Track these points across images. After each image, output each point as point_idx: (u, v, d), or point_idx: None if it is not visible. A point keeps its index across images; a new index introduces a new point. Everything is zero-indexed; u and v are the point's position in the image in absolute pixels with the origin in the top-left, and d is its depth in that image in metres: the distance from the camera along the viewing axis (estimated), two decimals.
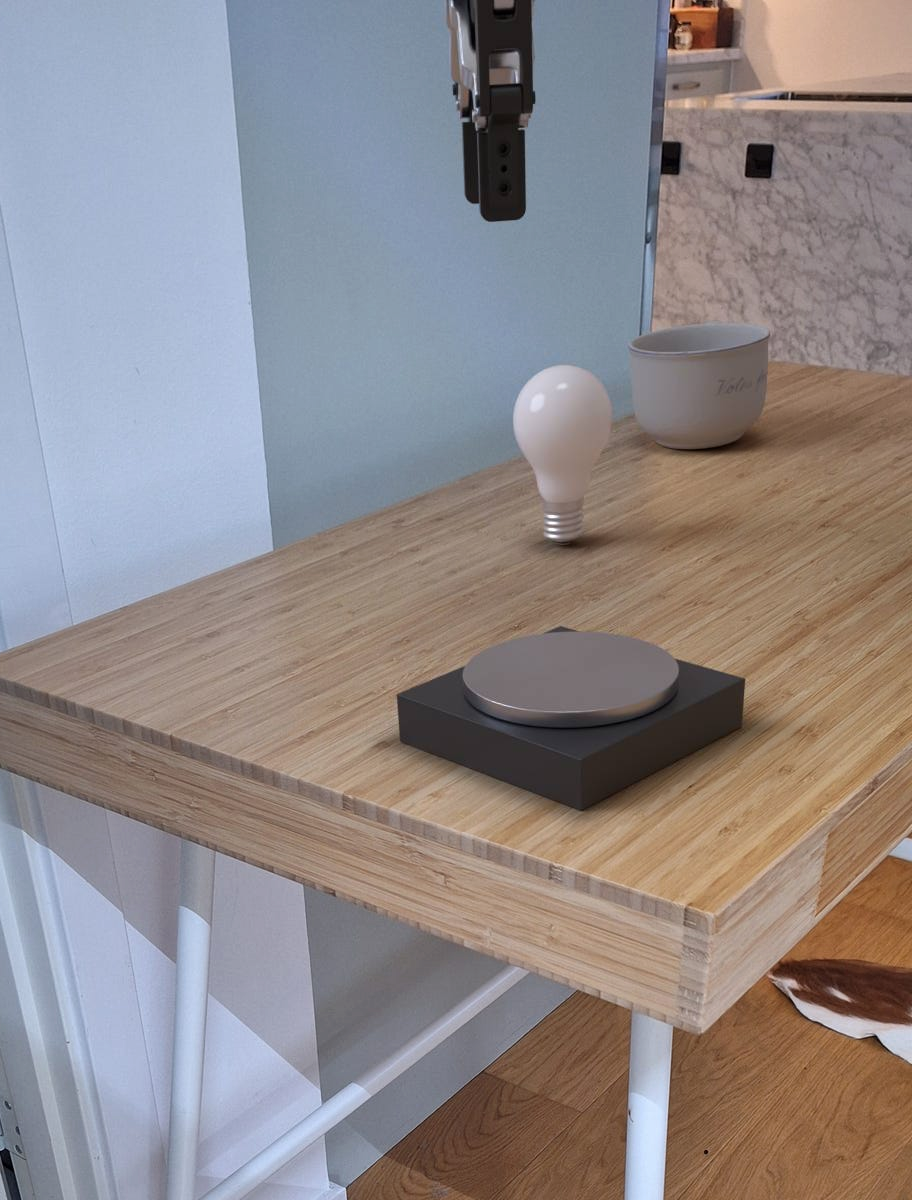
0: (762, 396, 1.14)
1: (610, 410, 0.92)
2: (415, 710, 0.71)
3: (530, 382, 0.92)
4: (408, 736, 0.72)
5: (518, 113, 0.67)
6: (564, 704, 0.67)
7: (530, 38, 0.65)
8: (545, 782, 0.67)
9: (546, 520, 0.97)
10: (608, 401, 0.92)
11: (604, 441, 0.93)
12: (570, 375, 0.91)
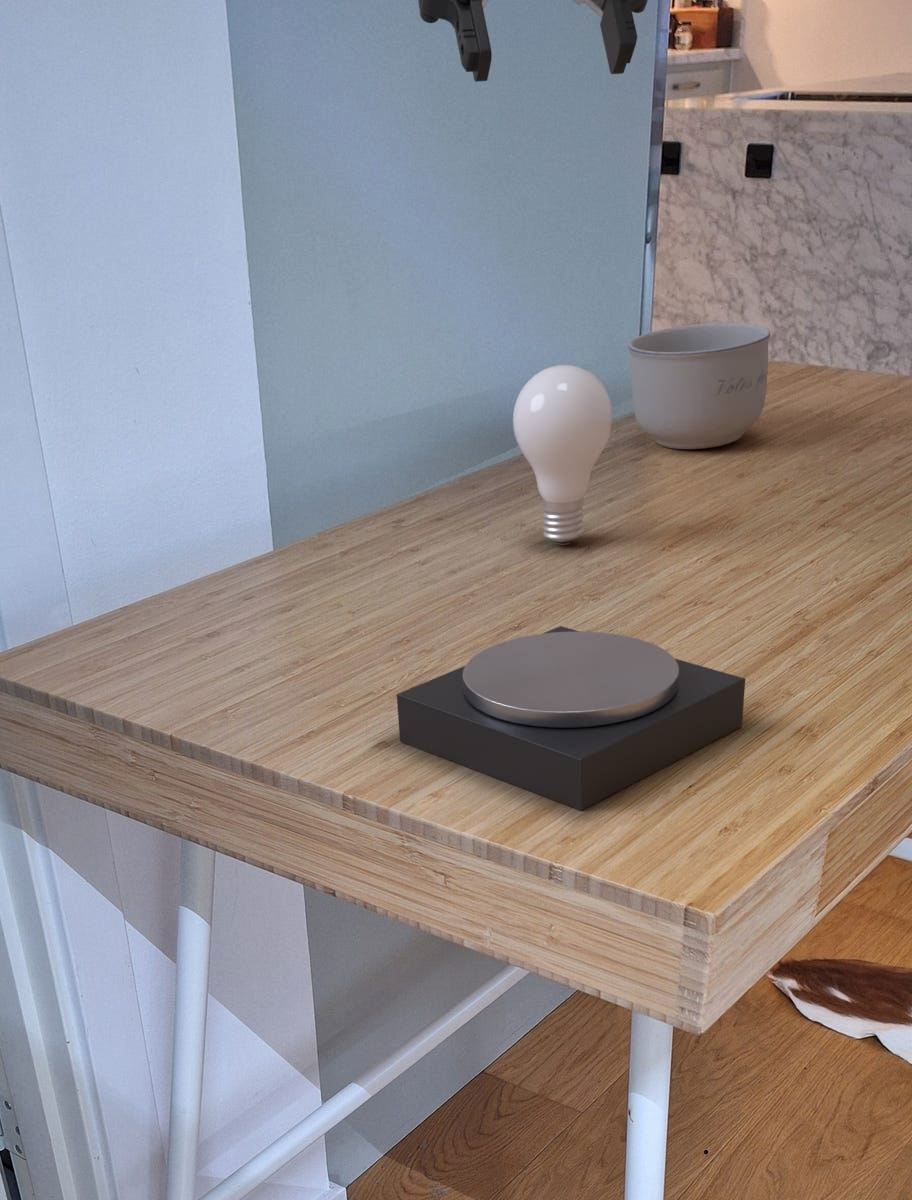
0: (762, 396, 1.14)
1: (610, 410, 0.92)
2: (415, 710, 0.71)
3: (530, 382, 0.92)
4: (408, 736, 0.72)
5: None
6: (564, 704, 0.67)
7: None
8: (545, 782, 0.67)
9: (546, 520, 0.97)
10: (608, 401, 0.92)
11: (604, 441, 0.93)
12: (570, 375, 0.91)
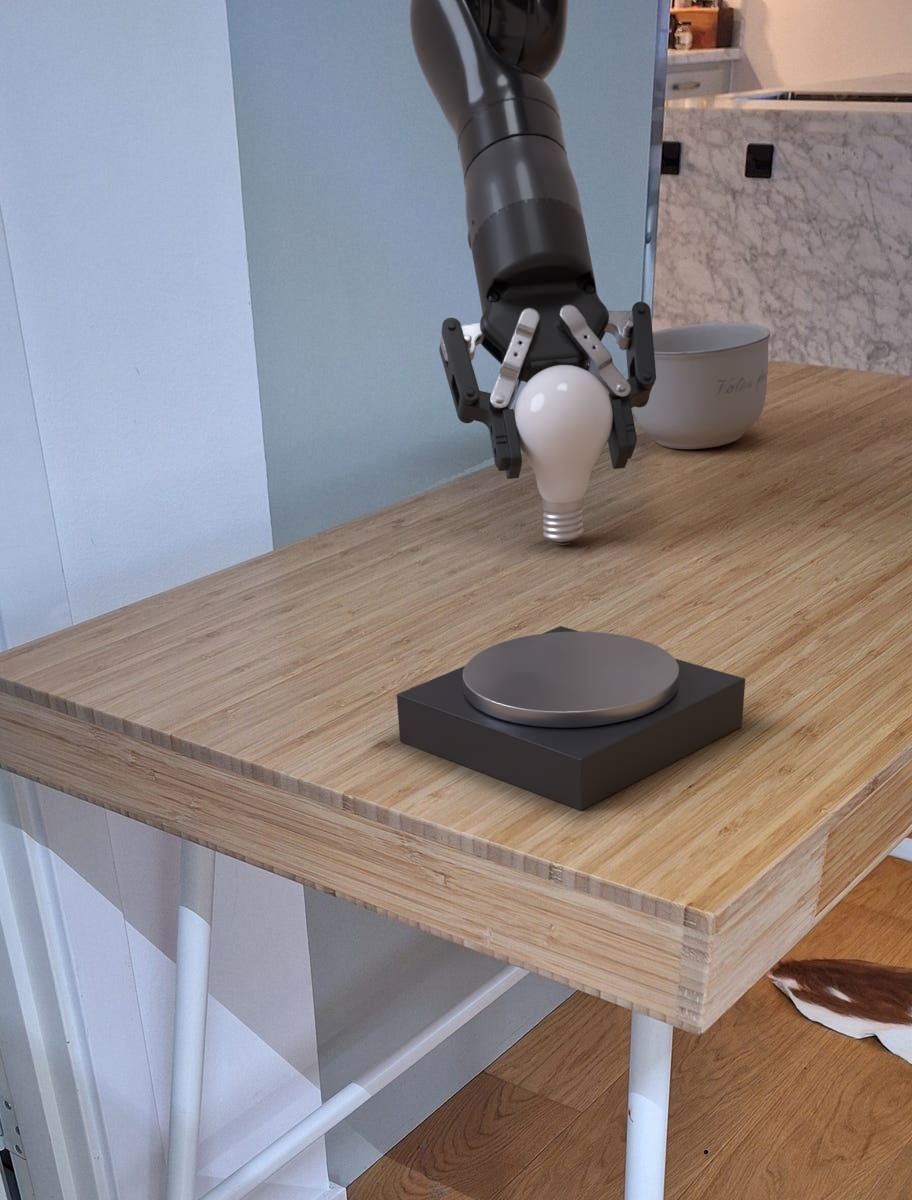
0: (762, 396, 1.14)
1: (610, 410, 0.92)
2: (415, 710, 0.71)
3: (530, 382, 0.92)
4: (408, 736, 0.72)
5: (467, 406, 0.93)
6: (564, 704, 0.67)
7: (452, 363, 0.93)
8: (545, 782, 0.67)
9: (546, 520, 0.97)
10: (608, 401, 0.92)
11: (604, 441, 0.93)
12: (570, 375, 0.91)
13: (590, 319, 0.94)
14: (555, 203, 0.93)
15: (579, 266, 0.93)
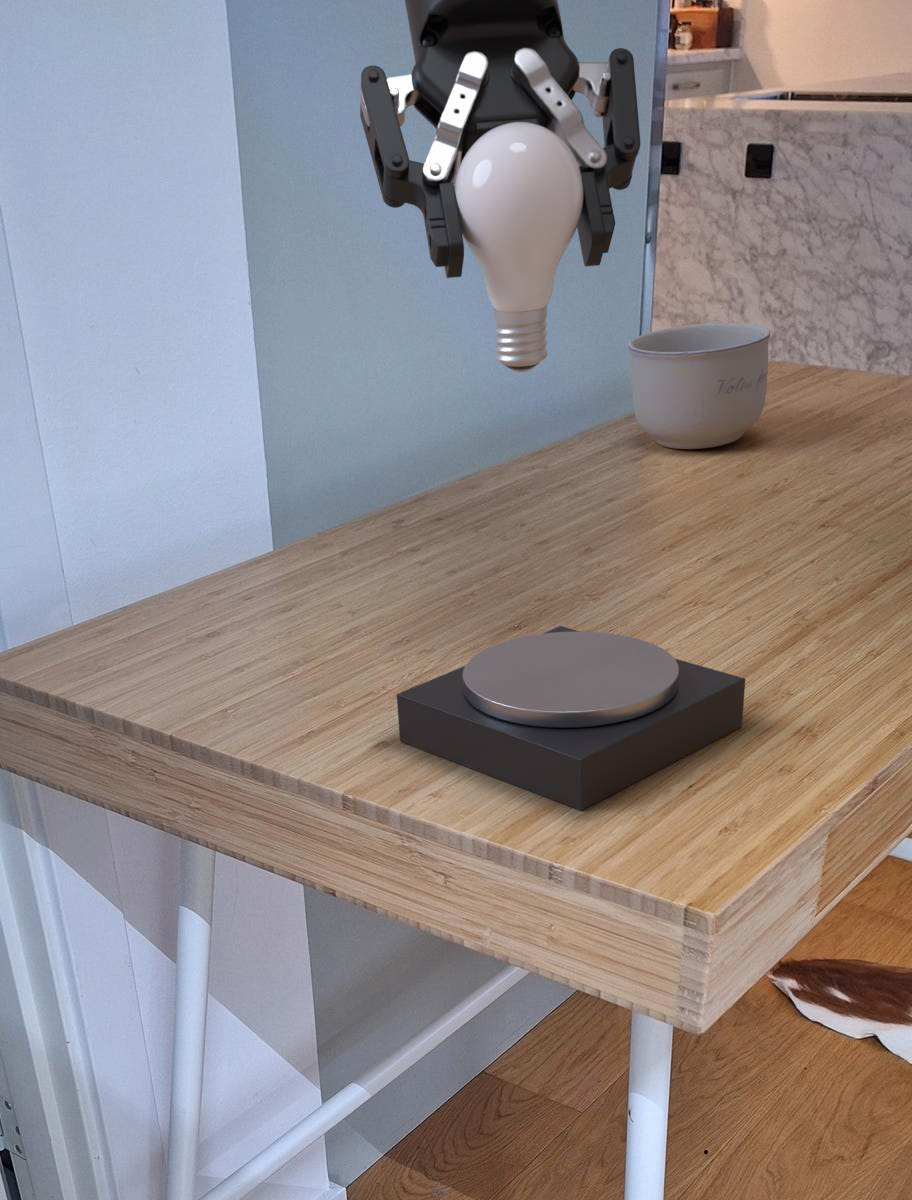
0: (762, 396, 1.14)
1: (579, 182, 0.70)
2: (415, 710, 0.71)
3: (475, 144, 0.70)
4: (408, 736, 0.72)
5: (393, 180, 0.71)
6: (564, 704, 0.67)
7: (373, 124, 0.71)
8: (545, 782, 0.67)
9: (498, 337, 0.75)
10: (577, 169, 0.70)
11: (572, 224, 0.71)
12: (526, 131, 0.69)
13: (555, 70, 0.72)
14: None
15: None
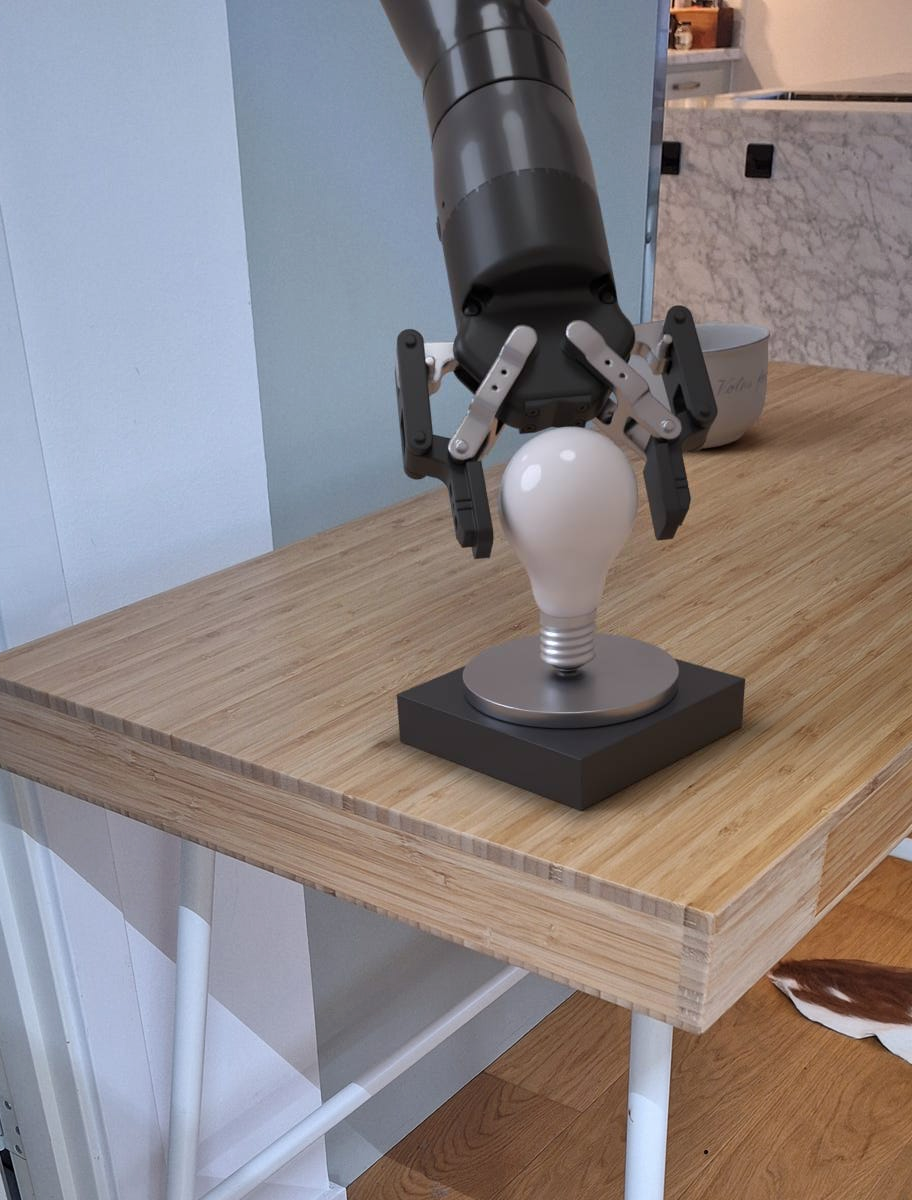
0: (762, 396, 1.14)
1: (635, 491, 0.65)
2: (415, 710, 0.71)
3: (523, 452, 0.65)
4: (408, 736, 0.72)
5: (416, 457, 0.65)
6: (564, 704, 0.67)
7: (402, 393, 0.65)
8: (545, 782, 0.67)
9: (544, 638, 0.70)
10: (633, 478, 0.65)
11: (627, 534, 0.66)
12: (579, 442, 0.64)
13: (611, 341, 0.67)
14: (559, 175, 0.65)
15: (593, 265, 0.65)
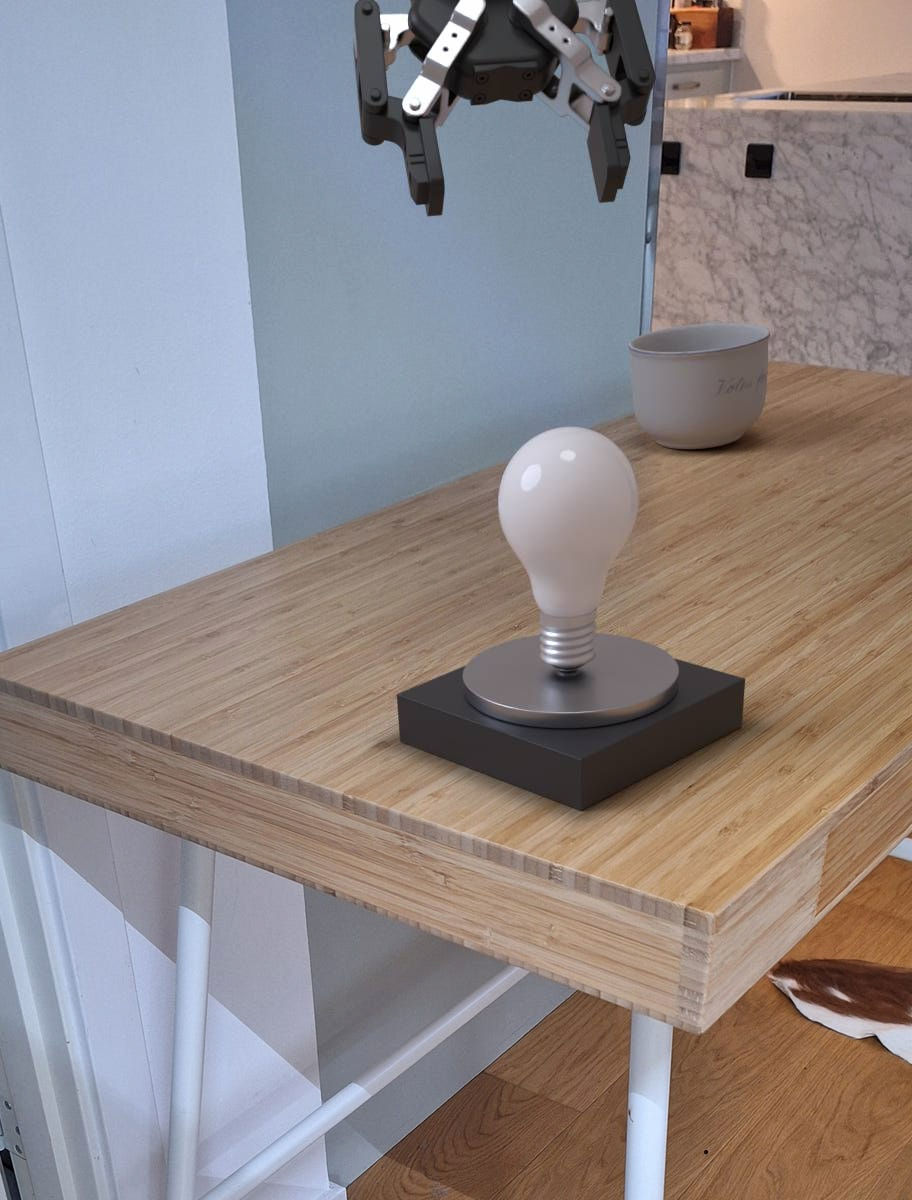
0: (762, 396, 1.14)
1: (635, 491, 0.65)
2: (415, 710, 0.71)
3: (523, 452, 0.65)
4: (408, 736, 0.72)
5: (372, 116, 0.70)
6: (564, 704, 0.67)
7: (358, 56, 0.70)
8: (545, 782, 0.67)
9: (544, 638, 0.70)
10: (633, 478, 0.65)
11: (627, 534, 0.66)
12: (579, 442, 0.64)
13: (556, 13, 0.71)
14: None
15: None
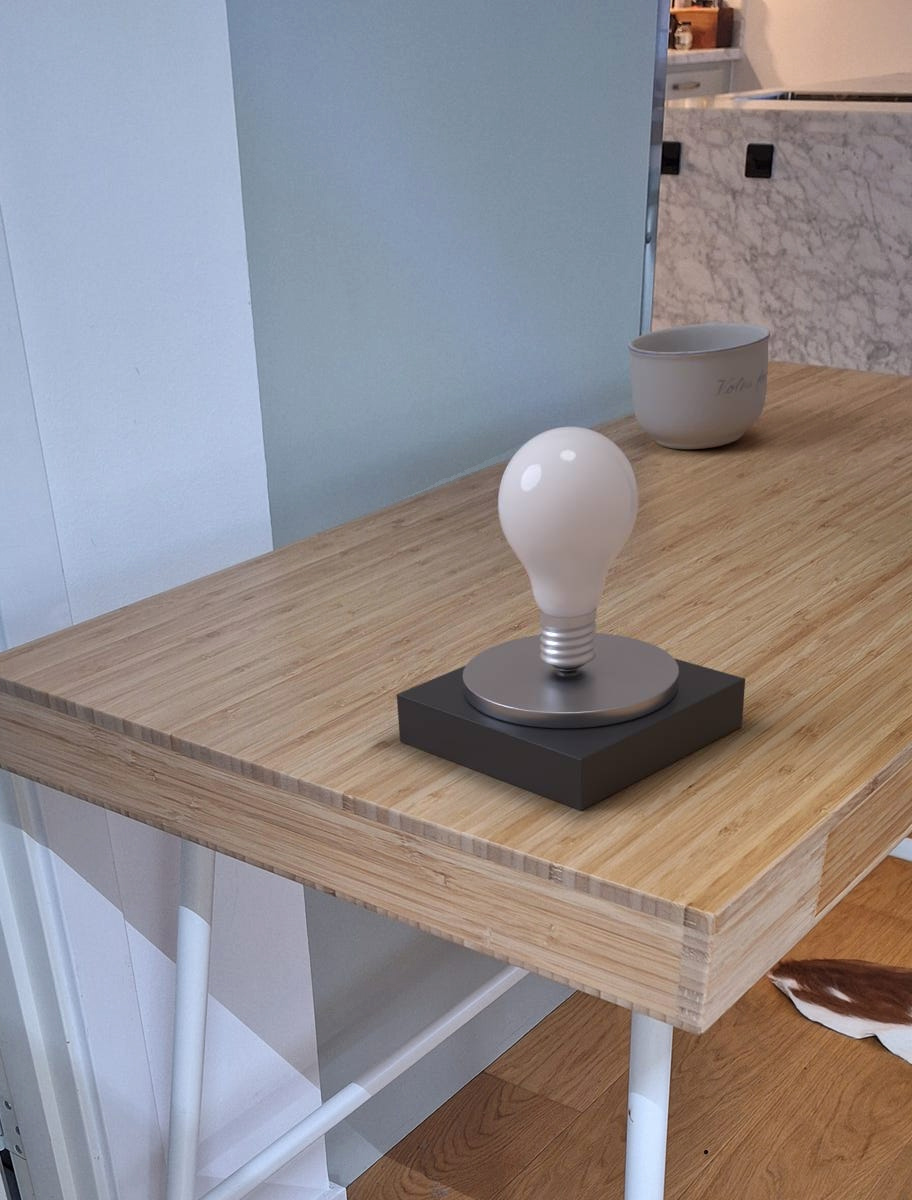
0: (762, 396, 1.14)
1: (635, 491, 0.65)
2: (415, 710, 0.71)
3: (523, 452, 0.65)
4: (408, 736, 0.72)
5: None
6: (564, 704, 0.67)
7: None
8: (545, 782, 0.67)
9: (544, 638, 0.70)
10: (633, 478, 0.65)
11: (627, 534, 0.66)
12: (579, 442, 0.64)
13: None
14: None
15: None
